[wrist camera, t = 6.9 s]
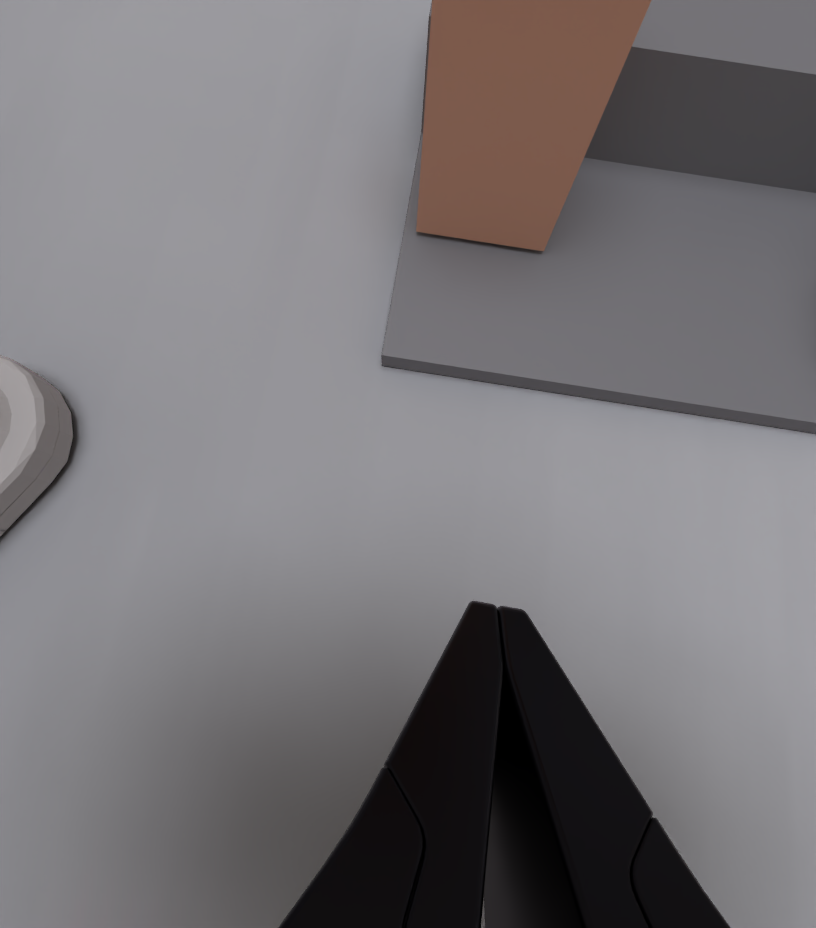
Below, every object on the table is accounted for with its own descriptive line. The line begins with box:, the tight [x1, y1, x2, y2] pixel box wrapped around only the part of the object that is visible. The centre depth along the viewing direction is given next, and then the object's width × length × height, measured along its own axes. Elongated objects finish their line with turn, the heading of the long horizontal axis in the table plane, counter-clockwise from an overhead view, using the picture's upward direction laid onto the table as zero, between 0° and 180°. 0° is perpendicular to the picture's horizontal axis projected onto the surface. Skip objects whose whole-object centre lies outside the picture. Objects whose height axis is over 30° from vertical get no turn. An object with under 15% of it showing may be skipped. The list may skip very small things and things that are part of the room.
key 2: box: [416, 0, 651, 251], centre depth 17 cm, size 4×5×14 cm
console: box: [382, 0, 816, 434], centre depth 22 cm, size 16×22×7 cm
